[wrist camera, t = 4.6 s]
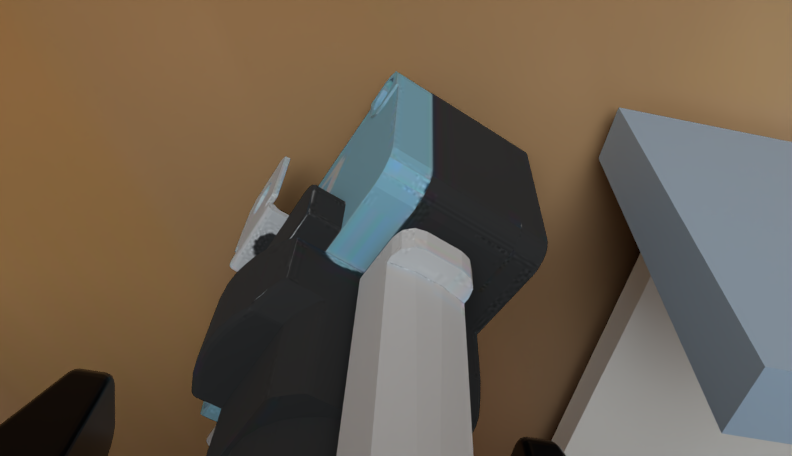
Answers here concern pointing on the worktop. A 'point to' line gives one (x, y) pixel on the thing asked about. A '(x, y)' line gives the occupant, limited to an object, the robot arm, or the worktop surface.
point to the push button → (372, 291)
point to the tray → (693, 298)
